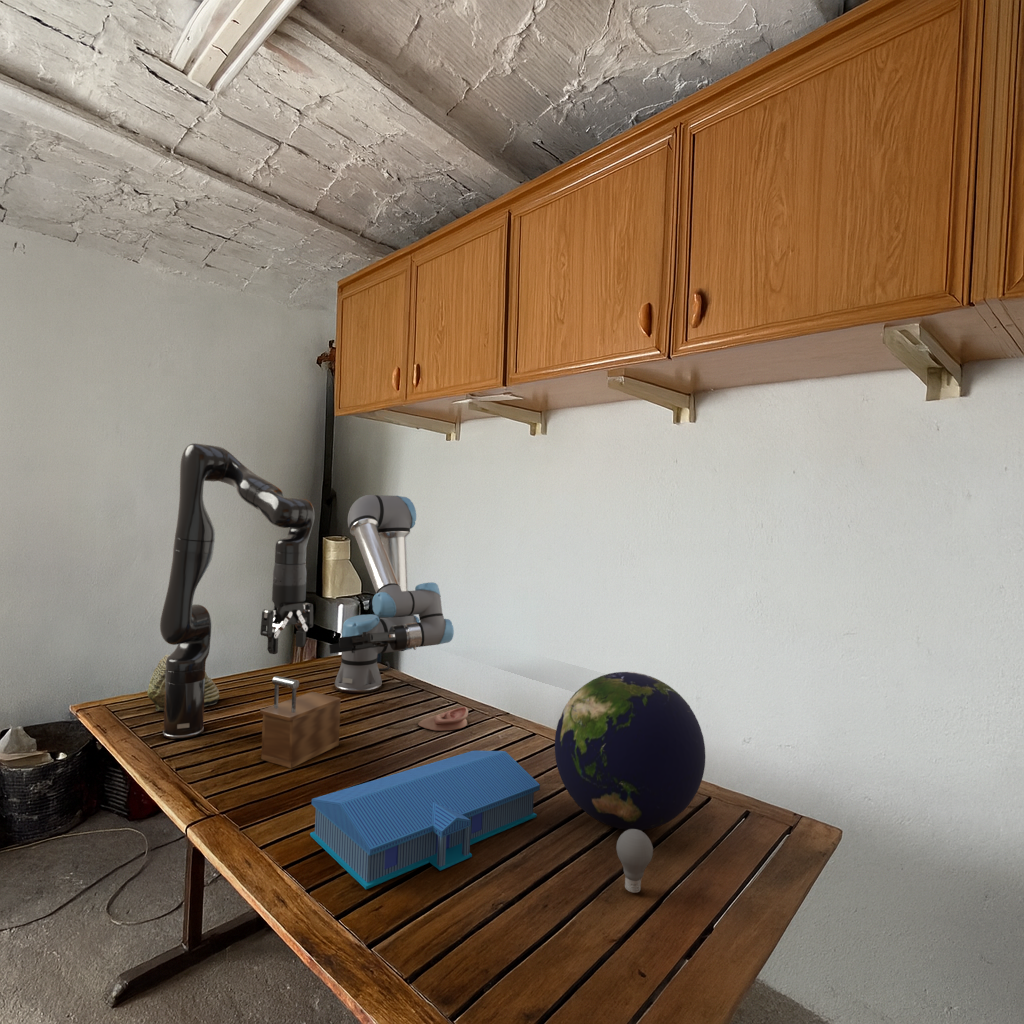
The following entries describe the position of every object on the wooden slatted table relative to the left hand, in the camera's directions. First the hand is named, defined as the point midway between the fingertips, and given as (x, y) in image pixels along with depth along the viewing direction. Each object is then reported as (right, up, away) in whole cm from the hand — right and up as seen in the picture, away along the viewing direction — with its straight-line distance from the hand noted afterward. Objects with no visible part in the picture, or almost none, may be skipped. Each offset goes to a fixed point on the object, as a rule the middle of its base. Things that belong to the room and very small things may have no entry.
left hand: (287, 650), depth 150 cm
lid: (+2, -15, +5) cm, 16 cm away
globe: (+76, -30, -22) cm, 85 cm away
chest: (+1, -27, +6) cm, 27 cm away
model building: (+38, -29, -28) cm, 55 cm away
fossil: (-43, -24, +34) cm, 60 cm away
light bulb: (+74, -31, -45) cm, 91 cm away
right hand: (+2, -6, +34) cm, 35 cm away
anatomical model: (+34, -28, +29) cm, 52 cm away
